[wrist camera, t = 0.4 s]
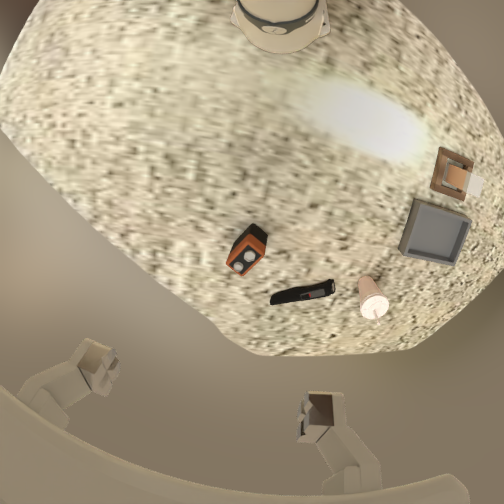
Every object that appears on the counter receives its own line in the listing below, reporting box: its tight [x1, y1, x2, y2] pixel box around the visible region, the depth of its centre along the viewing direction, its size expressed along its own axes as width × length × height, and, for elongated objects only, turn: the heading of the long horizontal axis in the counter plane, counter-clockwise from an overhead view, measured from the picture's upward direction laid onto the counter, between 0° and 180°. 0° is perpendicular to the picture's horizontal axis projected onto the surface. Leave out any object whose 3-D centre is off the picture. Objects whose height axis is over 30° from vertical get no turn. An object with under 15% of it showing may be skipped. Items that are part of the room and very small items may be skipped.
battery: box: [226, 224, 268, 276], centre depth 54 cm, size 4×7×10 cm, turn 140°
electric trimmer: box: [270, 279, 335, 305], centre depth 62 cm, size 4×16×3 cm, turn 108°
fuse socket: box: [430, 147, 474, 201], centre depth 44 cm, size 9×9×2 cm
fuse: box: [443, 163, 484, 198], centre depth 41 cm, size 4×4×10 cm
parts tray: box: [398, 199, 472, 266], centre depth 50 cm, size 12×16×4 cm
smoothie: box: [358, 276, 389, 325], centre depth 54 cm, size 6×6×14 cm
